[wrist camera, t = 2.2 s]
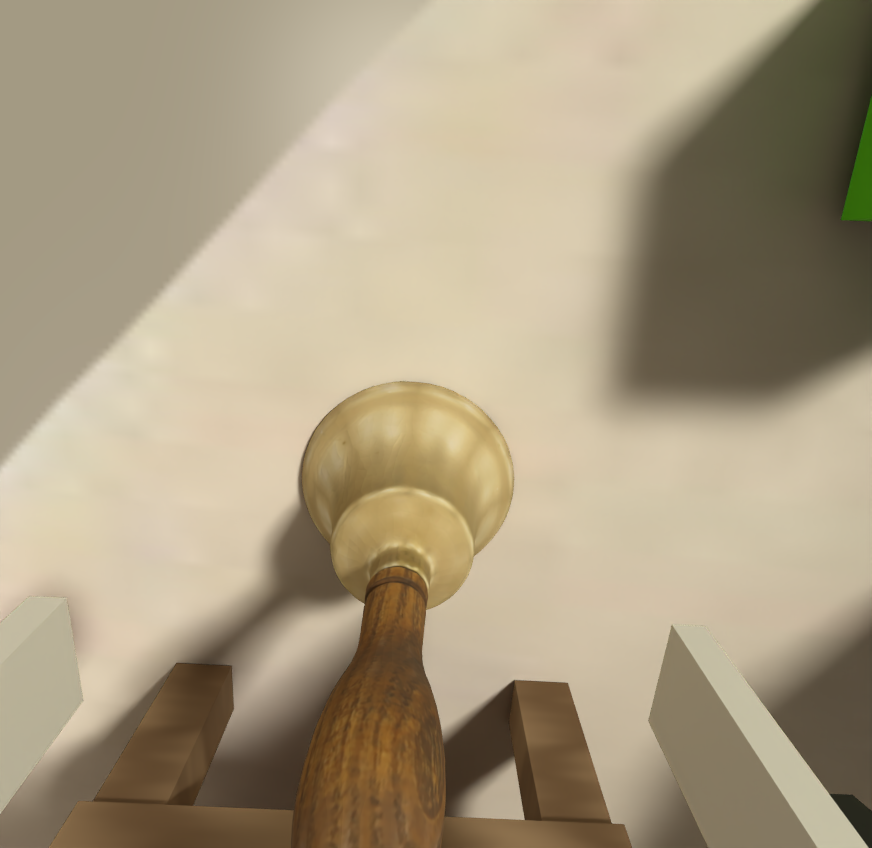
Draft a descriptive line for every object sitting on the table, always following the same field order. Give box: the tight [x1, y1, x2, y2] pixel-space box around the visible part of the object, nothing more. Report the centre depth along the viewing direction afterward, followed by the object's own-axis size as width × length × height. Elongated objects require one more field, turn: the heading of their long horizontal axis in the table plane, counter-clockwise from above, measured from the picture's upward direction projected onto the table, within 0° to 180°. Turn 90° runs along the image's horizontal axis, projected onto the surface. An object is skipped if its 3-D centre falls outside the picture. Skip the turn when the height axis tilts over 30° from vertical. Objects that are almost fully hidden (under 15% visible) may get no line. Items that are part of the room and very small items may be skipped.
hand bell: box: [291, 381, 514, 848], centre depth 14 cm, size 8×8×16 cm
